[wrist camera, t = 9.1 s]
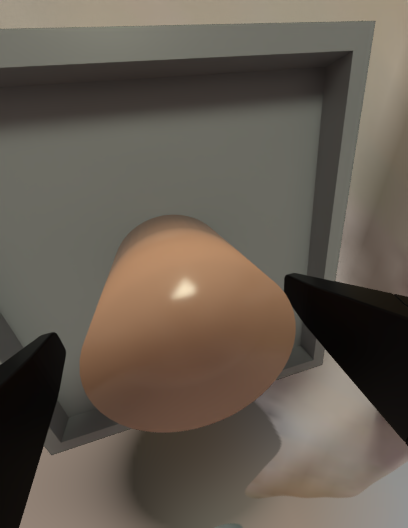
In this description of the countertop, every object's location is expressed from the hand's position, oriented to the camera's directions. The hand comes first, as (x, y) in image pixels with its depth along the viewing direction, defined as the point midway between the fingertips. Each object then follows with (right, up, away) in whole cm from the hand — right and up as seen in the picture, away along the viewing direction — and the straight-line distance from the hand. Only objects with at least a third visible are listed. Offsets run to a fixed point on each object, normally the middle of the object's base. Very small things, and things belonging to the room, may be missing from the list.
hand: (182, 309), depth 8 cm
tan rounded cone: (-1, +1, +3) cm, 3 cm away
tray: (-1, +2, +4) cm, 4 cm away
